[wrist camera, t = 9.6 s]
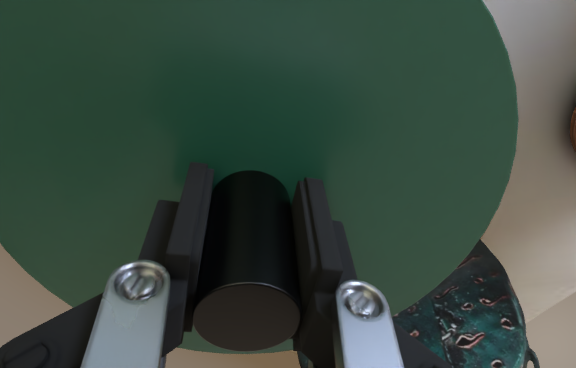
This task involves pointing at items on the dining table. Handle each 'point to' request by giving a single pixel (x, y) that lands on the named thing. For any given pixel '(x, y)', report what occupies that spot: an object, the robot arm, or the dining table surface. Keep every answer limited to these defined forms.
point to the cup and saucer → (573, 130)
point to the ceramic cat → (470, 317)
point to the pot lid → (251, 143)
